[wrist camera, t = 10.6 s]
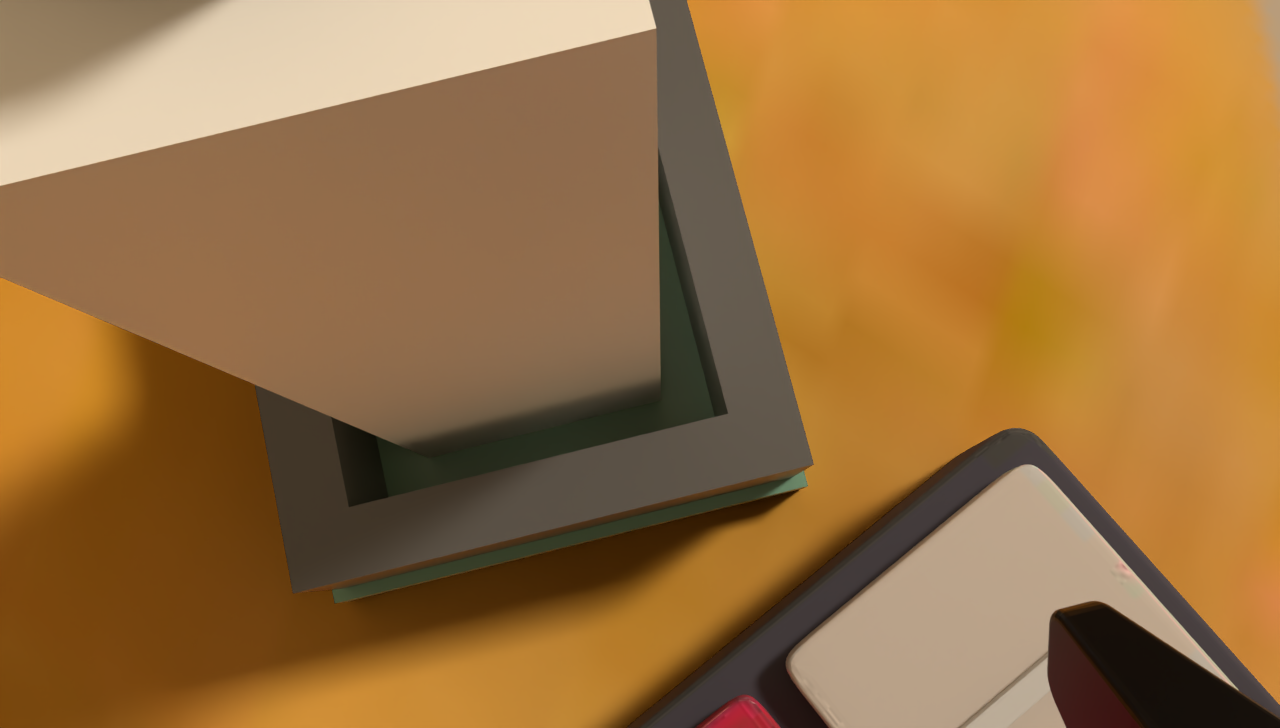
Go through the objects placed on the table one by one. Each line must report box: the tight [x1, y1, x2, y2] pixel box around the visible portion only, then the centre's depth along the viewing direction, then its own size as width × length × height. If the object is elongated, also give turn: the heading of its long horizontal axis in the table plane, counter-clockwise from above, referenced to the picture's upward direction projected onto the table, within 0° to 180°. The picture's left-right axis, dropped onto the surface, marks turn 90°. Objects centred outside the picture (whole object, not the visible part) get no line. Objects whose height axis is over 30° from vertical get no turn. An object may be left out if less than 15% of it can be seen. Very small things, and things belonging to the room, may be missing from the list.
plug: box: [0, 0, 661, 458], centre depth 11 cm, size 4×4×14 cm
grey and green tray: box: [255, 0, 814, 603], centre depth 18 cm, size 8×8×3 cm
